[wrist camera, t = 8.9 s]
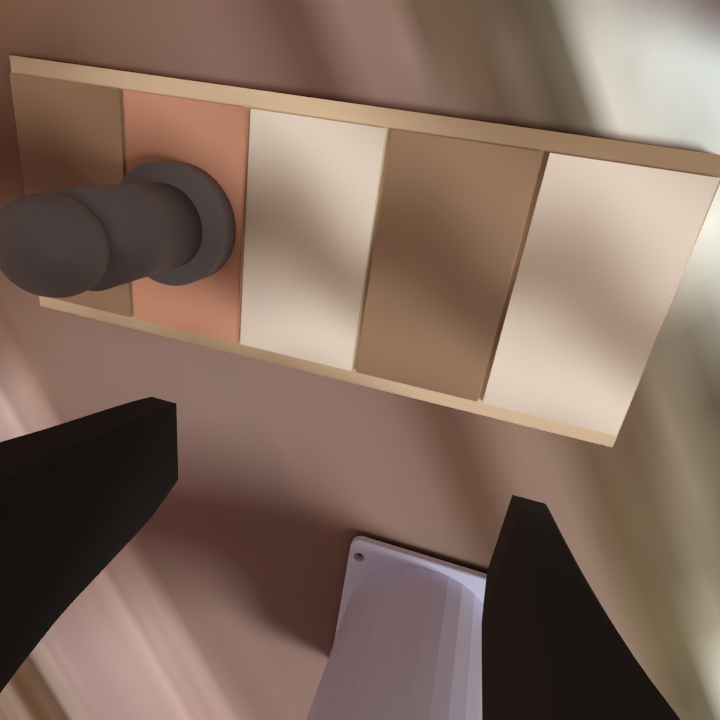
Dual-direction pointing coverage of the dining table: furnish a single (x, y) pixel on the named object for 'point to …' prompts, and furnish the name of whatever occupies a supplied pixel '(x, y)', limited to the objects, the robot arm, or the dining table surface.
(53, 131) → the board
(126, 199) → the pawn
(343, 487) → the dining table surface
